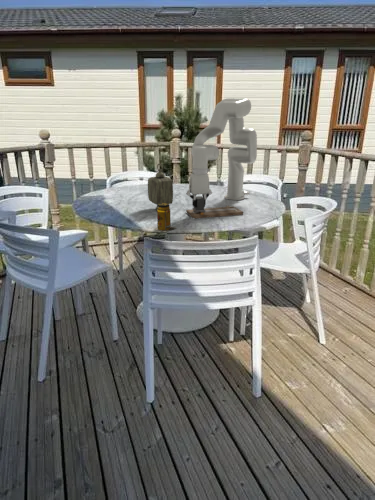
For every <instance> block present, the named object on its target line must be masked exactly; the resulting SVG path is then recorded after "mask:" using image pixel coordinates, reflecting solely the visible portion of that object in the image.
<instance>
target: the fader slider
mask: <svg viewBox="0 0 375 500" xmlns="http://www.w3.org/2000/svg"><path fill="white" fill-rule="evenodd" d="M204 199H205V198H203V196H202V195H200V196H197V195H196V208H195V207H192V209H193V211H195V212H196V213H200V212H205V207H204Z"/></svg>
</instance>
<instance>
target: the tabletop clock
mask: <svg viewBox="0 0 375 500" xmlns="http://www.w3.org/2000/svg"><path fill="white" fill-rule="evenodd" d="M159 166H160V167H161V168H159ZM156 169H157V171H158V172H156V174H155V176H151V177H150V178H149V179H147V197H148V200H149V202H150V203H152V204H155V205H156V207H155V211H157V210H158V204H159V203H168V204H169V205H171V204H173V203H174V201H173V200H174V183H173V180H172V178H171V177H169V176H166V175H165V173H164V172H163V171H164V167H163V165H162V164H161V163H158V164H157V166H156Z"/></svg>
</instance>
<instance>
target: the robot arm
mask: <svg viewBox="0 0 375 500" xmlns="http://www.w3.org/2000/svg"><path fill="white" fill-rule="evenodd" d="M251 110H252V102H251V101H250V99H249V98H246V97H245V98H234V97H233V98H232V97H230V98H224V99H222V100H221V101H219V102H218V103H216V105H215V108H214V110H213V112H212V116H211V117H210V118H211V119H210V120H209V124H208V125H207V126H206V127H205V128H204V129H202V130H201V131H200V132H199V133H198V134H197V136H196V137H195V139H194V142H193V144H192V146H191V155H192V167H191V168H192V170H191V171H192V173H191V174H190V176H189V181H188V182H189V184H188V190H187V191H186V194H185V195H187V196H188V197H189V198H190V199H192V208H194V207H195V208H196V197H197V195H201V196H202V197H203V198H205V199H204V208H205V207H206V200H207V198H208V197H209V196H210V195H212V194H213V192H212V190H211V188H210V176H209V174H208V173H209V172H210V170H211V169H210V168H208V162H209V161H215V160H217V159H218V157H219V156H220V149H219V148H218V146H216V145H213V144H205V143H206V142H207V141H208V140H210V139H212V138H216V137H218V136H220V135H221V134H223V133H224V131H225V129H226V125H227V123H228V130H229V131H228V133H229V142H230V144H231V145H234V146H231V147H229V148H228V151H227V160H228V168H227V169H228V173H227V192H226V194H225V195H224V198H225V200H230V201H242V200H244V199H245V198H246V197H245V196H248V195H250V191H246V190H244V178H245V177H244V175H245V169H244V166H243V164H250V165H251V164H254V163H255V162H256V161H257V155H258V153H257V152H258V147H257V146H258V135H257V132H256V130H255V129H254V128H252V127H251V128H250V127H249V128H248V127H245V122H244V120H245V119H244V117H246V116H248V115H249V114H250V112H251Z"/></svg>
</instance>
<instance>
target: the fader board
mask: <svg viewBox="0 0 375 500" xmlns="http://www.w3.org/2000/svg"><path fill="white" fill-rule="evenodd" d="M204 209H205V212H200V213H196V212H195V211H193V208H192V209H186V210H185V212H187V213H188V214H187V215H189V217H191V218H192V219H193V218H195V219H206V218H216V217H217V218H219V217H231V216H240V215H244V211H243V210H240V209H239V208H237V207H235V206H234V205H233V206H230V205H226V206H221V207H220V206H219V207H207V208H205V207H204Z"/></svg>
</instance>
